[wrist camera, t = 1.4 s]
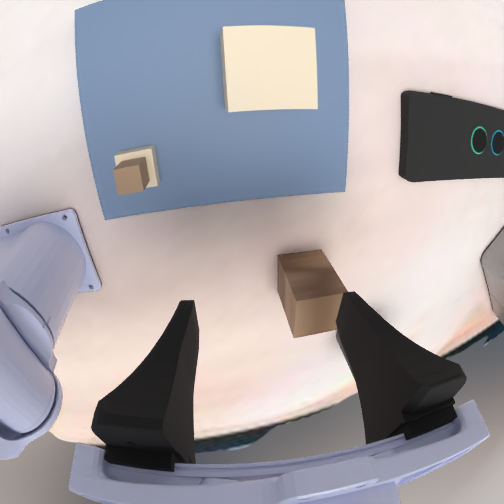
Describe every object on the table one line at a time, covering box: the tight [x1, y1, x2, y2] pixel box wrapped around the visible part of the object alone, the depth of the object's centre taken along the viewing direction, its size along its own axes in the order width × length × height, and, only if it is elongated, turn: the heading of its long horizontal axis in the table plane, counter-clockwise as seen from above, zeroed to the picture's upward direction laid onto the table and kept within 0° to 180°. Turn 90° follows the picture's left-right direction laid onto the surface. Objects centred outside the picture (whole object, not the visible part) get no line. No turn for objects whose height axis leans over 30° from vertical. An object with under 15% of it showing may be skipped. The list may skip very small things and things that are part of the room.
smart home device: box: [399, 91, 504, 182], centre depth 21 cm, size 8×2×20 cm
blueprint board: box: [75, 0, 349, 220], centre depth 15 cm, size 18×16×5 cm
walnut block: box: [278, 250, 348, 338], centre depth 24 cm, size 4×4×6 cm
